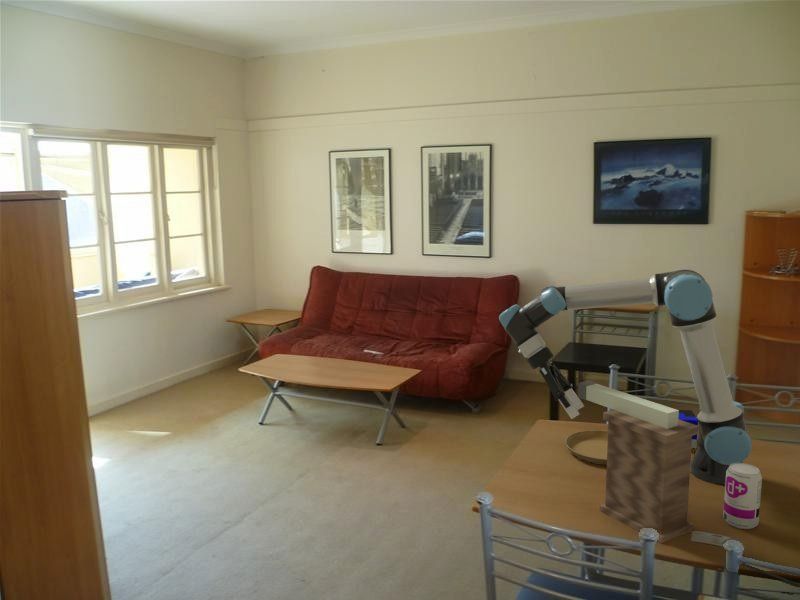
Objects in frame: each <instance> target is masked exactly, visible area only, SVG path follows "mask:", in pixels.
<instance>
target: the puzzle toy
mask: <svg viewBox="0 0 800 600" xmlns="http://www.w3.org/2000/svg"><path fill="white" fill-rule="evenodd" d="M678 410H679V415H678V419H679V420H682V421H685V422H688V423H691V424H694V425H697V426H699V422H698V418H697V416H696V415H695V414H694V412H693V410H690V409H689V410H688V409H687V410H686V409H678ZM691 448H698V434H696V435H693V436H692V446H691Z"/></svg>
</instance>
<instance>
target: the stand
mask: <svg viewBox="0 0 800 600" xmlns="http://www.w3.org/2000/svg"><path fill="white" fill-rule="evenodd" d="M602 420H603V421H605V422H607V423H608V424H607V426H608V427H607V431H608V446H607V465H606V475H605V476H606V477H605V480H606V481H605V503H603V504H600V505H599V511H600V512H602V513H604V514H606V515H607V516H609V517H612V518H613V519H615V520H617V521H619V522H621V523H622V524H624V525H626V526H628V527H629V528H632V529H633V530H635V531H637V532H639V531H640V529H642V528H653V529H655V530H657V532H658V533H659V540H658V541H657V542H658V543H659V544H663V543H665V541H666V542H668V541H670V540H672V539H671V538H673V539H675V538H677V537H679V535H680V536H682V535H684V534H687V533H689V532H691V531H693V527H694V525H693V523H690V522H688V512H689V511H688V509H689V495H690V493H689V492H690V480H691V479H690V476H691V471H690V467H691V461H692V459H691V458H692V449H691V446H692V436H693V435H696V434H697V435H699V425H698V426H697V425H694V424H691V423H688V422H685V421H682V420H679V419H678V426H675V427H672V428H669V429H666V428H663V427H661V426H658V425H655V424H652V423H650V422H647V421H644V420H641V419H638V418H636V417H633V416H630V415H627V414H624V413H622V412H619V411H616V410H613V409H611V410H608V411H603V413H602ZM690 530H691V531H690ZM686 532H687V533H686ZM683 533H684V534H683ZM681 534H682V535H681ZM676 536H677V537H676ZM674 537H675V538H674ZM669 539H670V540H669ZM667 540H668V541H667Z"/></svg>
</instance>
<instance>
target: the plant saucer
mask: <svg viewBox="0 0 800 600" xmlns="http://www.w3.org/2000/svg"><path fill="white" fill-rule="evenodd" d="M565 445H566V447H567V449H568V451H570V452H571V453H572V454H573V455H574V456H576V457H577V458H579V459H580V460H583V461H585V462H588V463H591V462H592V464H597V465H603V466H604V465H606V466H607V446H608V430H598V429H596V430H582V431H576V432H573V433H572V434H570V435H568V436H567V437H566V439H565Z"/></svg>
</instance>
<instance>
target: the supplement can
mask: <svg viewBox="0 0 800 600" xmlns="http://www.w3.org/2000/svg"><path fill="white" fill-rule="evenodd" d="M762 482H763V476H762V474H761V471H760V468H758V467H757V466H755V465H752V464H750V463H744V462H743V463H733V464H730V466H729V468H728V469H727V471H726V482H725V484H724V498H723V499H724V500H723V501H724V502H723V511H722V513H723V514H722V515H723V517H722V518H723V520H725V522H726V523H727V524H728V525H730V526H732V527H734V528H736V529H742V530H750V529H751V530H752V529H754V528H755V527H757V526H758V525H759V522H760V521H759V520H760V509H761V508H760V507H761V498H762V497H761V495H762Z"/></svg>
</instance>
